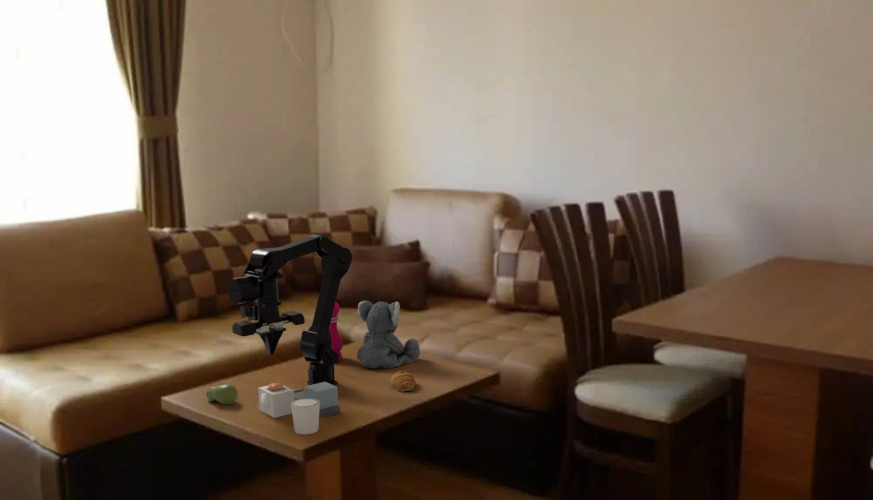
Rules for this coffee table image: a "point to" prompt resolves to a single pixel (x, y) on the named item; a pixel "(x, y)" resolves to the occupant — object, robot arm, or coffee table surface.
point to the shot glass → (305, 415)
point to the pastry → (402, 381)
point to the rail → (324, 412)
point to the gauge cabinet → (275, 401)
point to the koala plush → (384, 337)
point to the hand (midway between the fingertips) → (271, 354)
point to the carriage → (323, 394)
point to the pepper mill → (335, 333)
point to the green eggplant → (223, 394)
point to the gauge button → (275, 387)
